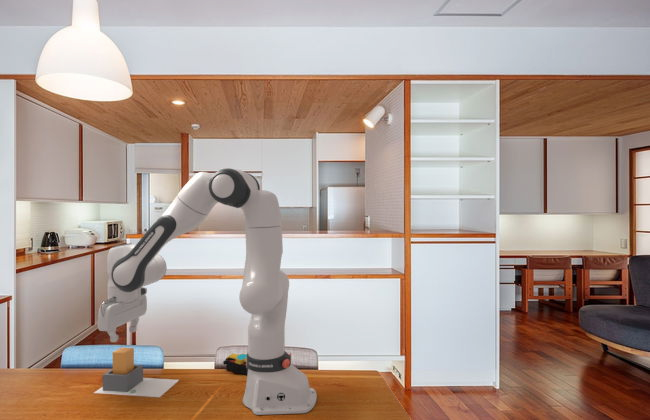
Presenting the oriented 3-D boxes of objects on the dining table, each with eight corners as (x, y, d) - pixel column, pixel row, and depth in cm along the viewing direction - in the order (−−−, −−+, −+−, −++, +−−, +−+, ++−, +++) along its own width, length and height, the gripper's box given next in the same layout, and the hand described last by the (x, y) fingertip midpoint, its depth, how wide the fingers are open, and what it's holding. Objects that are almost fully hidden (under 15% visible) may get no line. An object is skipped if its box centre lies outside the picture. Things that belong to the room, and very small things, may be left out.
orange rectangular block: (133, 369, 129) (133, 348, 129) (125, 374, 125) (125, 353, 125) (121, 368, 130) (121, 347, 130) (112, 374, 125) (112, 352, 125)
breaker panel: (179, 382, 131) (179, 365, 131) (159, 400, 119) (159, 380, 119) (118, 379, 134) (118, 361, 134) (93, 396, 122) (93, 376, 122)
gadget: (256, 380, 136) (258, 365, 135) (221, 371, 138) (223, 356, 138) (263, 373, 142) (265, 358, 142) (229, 364, 145) (231, 349, 144)
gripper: (110, 301, 116) (111, 348, 116) (149, 287, 137) (150, 327, 137) (91, 301, 117) (92, 347, 117) (133, 287, 137) (133, 326, 138)
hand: (124, 336), depth 127 cm, fingers open, 8 cm apart
